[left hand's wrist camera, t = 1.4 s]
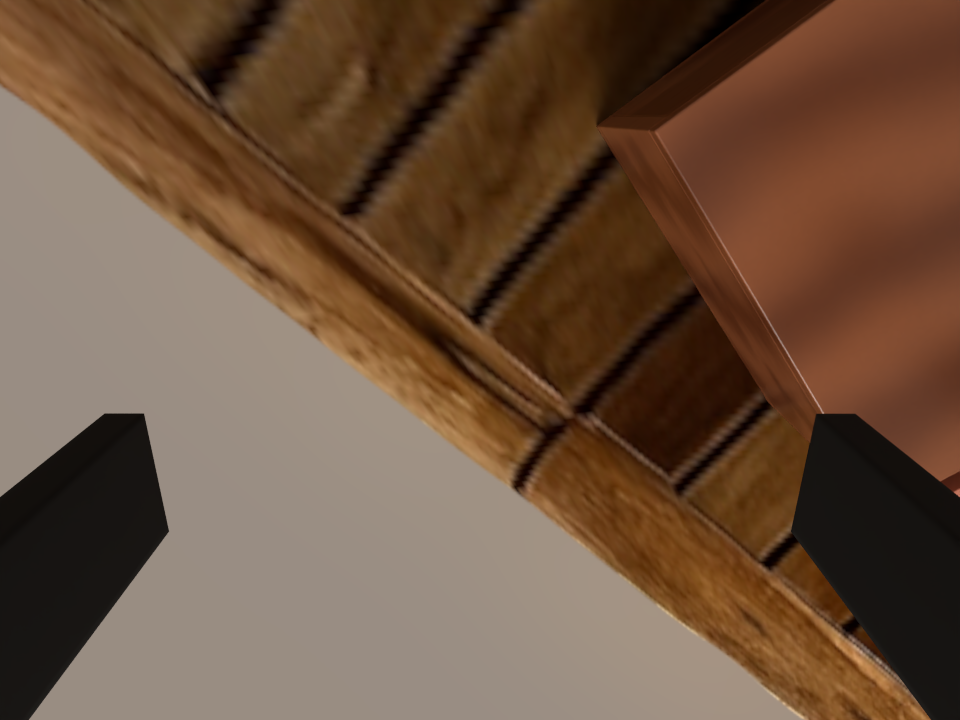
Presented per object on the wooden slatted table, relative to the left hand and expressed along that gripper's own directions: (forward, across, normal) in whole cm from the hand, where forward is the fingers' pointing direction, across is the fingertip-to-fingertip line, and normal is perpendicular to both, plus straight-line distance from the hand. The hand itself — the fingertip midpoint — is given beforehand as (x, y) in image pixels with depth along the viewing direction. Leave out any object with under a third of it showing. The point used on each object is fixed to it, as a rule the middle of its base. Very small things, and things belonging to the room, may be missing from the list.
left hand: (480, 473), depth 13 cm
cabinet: (+23, +16, +2) cm, 28 cm away
